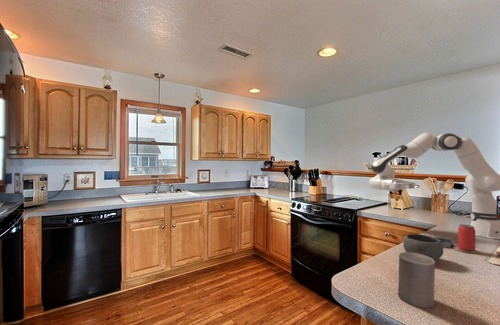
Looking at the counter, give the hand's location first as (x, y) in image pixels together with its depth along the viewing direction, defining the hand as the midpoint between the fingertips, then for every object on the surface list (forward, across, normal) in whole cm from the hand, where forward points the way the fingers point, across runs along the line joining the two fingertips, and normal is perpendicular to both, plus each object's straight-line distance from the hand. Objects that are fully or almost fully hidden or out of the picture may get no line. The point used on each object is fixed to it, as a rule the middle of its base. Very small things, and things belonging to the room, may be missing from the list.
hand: (414, 186), depth 148 cm
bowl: (+25, -35, +30) cm, 52 cm away
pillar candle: (+44, -72, +30) cm, 90 cm away
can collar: (+17, -3, +30) cm, 35 cm away
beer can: (+27, -2, +29) cm, 40 cm away
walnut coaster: (+26, -2, +30) cm, 40 cm away
